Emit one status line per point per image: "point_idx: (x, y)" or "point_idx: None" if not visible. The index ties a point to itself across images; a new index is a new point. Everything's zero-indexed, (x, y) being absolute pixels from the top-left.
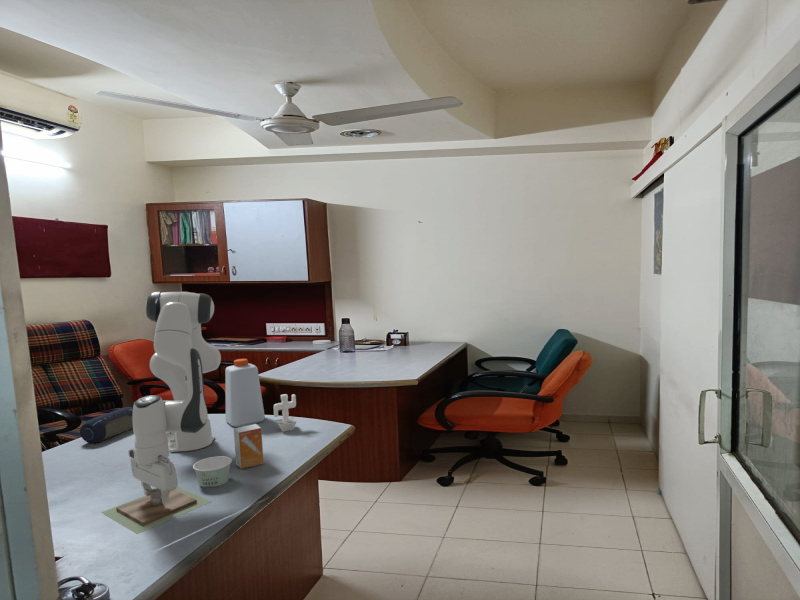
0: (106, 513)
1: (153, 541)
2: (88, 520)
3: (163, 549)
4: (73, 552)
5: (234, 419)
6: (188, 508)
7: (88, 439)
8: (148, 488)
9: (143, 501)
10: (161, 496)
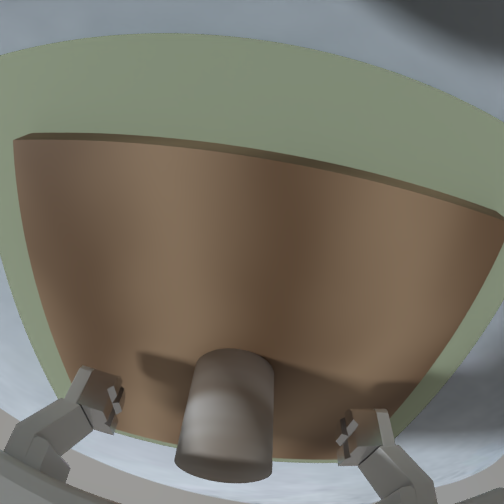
0: None
1: (445, 442)
2: (95, 438)
3: (488, 435)
4: (263, 499)
5: None
6: (480, 291)
7: None
8: (85, 418)
9: (117, 372)
10: (365, 476)
